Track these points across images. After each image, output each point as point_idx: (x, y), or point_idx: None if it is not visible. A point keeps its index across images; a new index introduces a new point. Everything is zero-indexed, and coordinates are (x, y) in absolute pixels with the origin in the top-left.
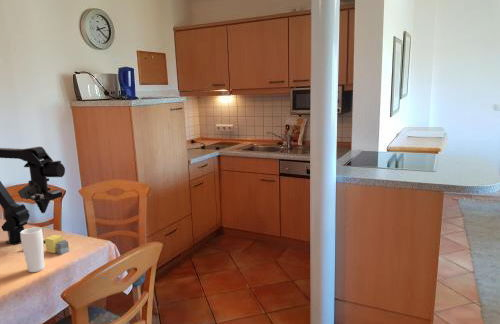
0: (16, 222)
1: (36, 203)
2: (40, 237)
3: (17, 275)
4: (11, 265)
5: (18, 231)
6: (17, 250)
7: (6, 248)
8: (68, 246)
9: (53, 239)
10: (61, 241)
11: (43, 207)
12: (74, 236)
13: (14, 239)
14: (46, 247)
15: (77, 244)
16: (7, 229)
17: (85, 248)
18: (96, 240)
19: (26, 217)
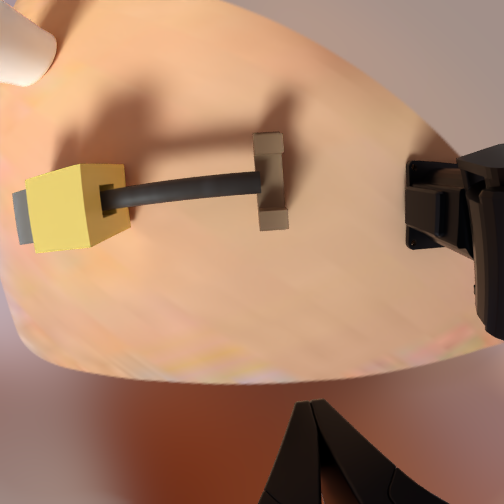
0: (488, 183)
1: (430, 498)
2: None
3: (66, 5)
4: (160, 6)
5: (449, 198)
6: (321, 108)
7: (403, 112)
8: None
9: (28, 186)
10: None
11: (272, 480)
12: (200, 369)
13: (436, 175)
14: (108, 164)
15: (91, 304)
16: (490, 149)
17: (34, 283)
18: (74, 359)
19: (487, 294)
